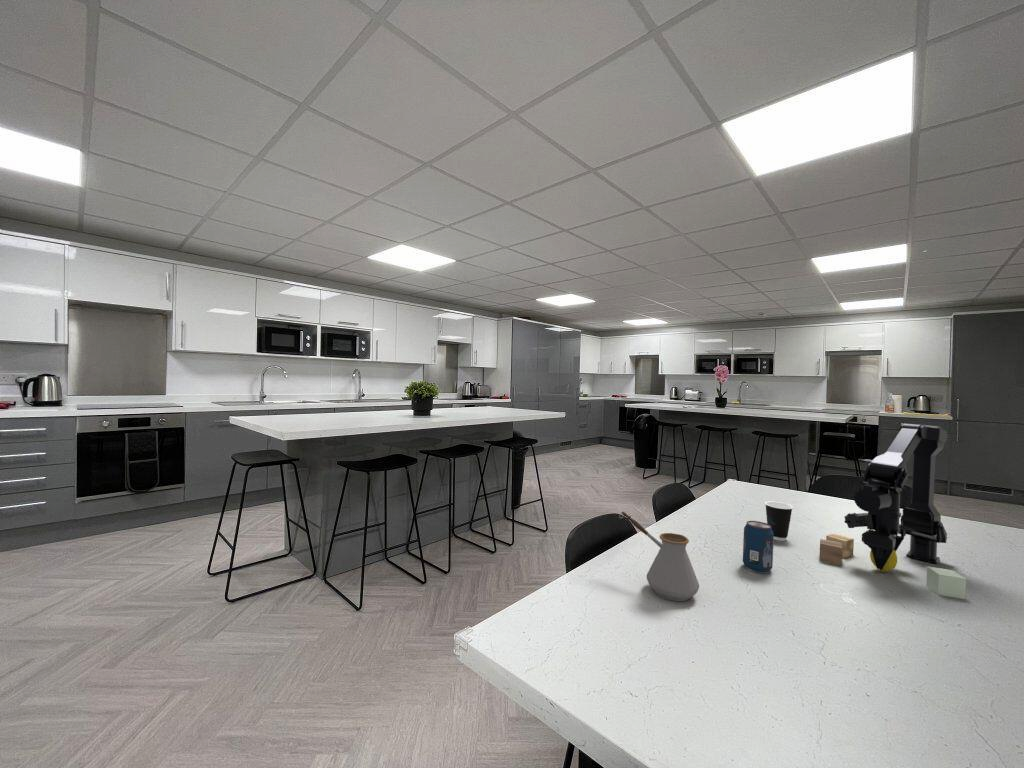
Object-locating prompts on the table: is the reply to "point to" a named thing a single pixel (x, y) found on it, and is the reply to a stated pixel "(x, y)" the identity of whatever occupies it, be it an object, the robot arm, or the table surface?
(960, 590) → the sage block
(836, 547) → the walnut block
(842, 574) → the table surface
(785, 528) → the dixie cup
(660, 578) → the coffee pot
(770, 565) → the soda can
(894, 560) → the lemon
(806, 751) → the table surface
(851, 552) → the oak block
